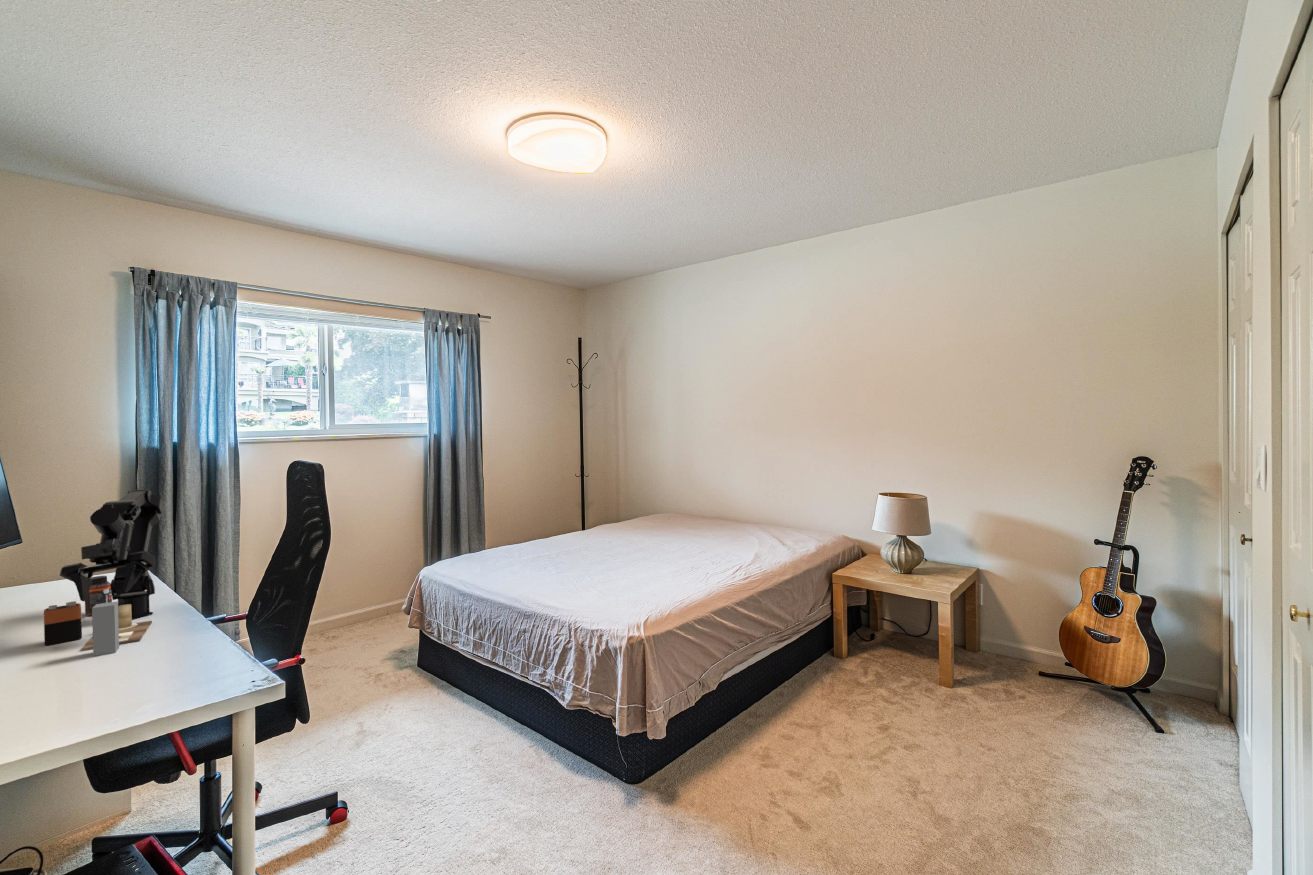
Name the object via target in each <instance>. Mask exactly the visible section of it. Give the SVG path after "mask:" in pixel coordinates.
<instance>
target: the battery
mask: <svg viewBox="0 0 1313 875" xmlns="http://www.w3.org/2000/svg"><path fill="white" fill-rule="evenodd" d="M82 626H83V625H82V605H81V603H80V602H79V603H77V601H76V600H75V601H69V602H65V604H64V605H59V606H58V605H57V604H53V605H49V606H48V607H47V608H45V609H44V610H43V632H44V647H45V646H46V647H48V646H53V645H59V644H64V643H68V642H73V641H79V640H81V639H82V638H83V632H82V630H83V629H82V628H83V627H82Z"/></svg>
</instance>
